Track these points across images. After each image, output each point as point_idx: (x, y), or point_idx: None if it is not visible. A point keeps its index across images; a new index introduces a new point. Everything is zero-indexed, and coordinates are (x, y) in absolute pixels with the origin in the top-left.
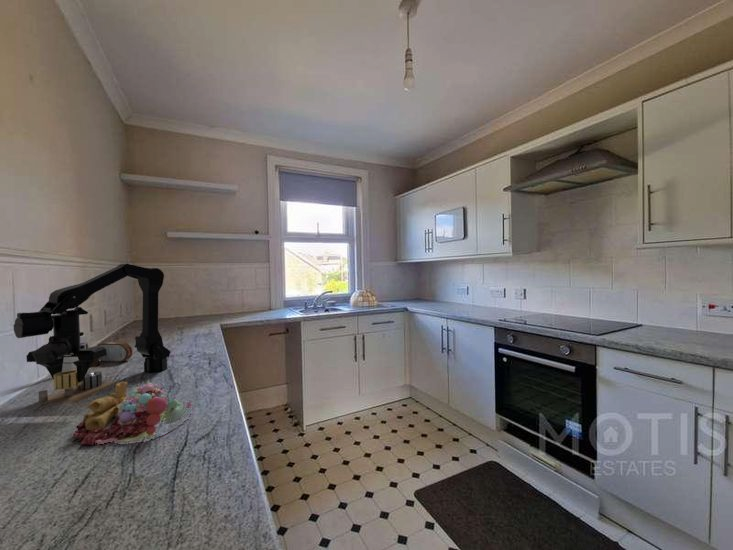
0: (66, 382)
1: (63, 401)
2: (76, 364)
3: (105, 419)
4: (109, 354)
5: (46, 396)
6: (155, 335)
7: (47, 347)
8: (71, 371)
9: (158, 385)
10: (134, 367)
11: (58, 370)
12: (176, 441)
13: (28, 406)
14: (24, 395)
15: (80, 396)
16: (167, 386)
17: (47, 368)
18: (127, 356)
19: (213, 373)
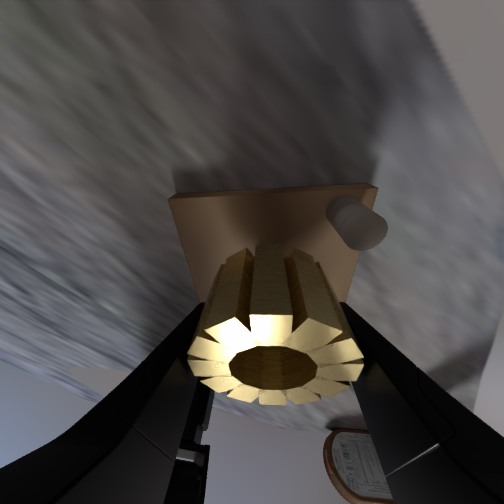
0: (227, 278)
1: (239, 207)
2: (43, 480)
3: None
4: (377, 457)
5: (334, 221)
6: None
7: None
8: (282, 383)
9: None
10: (281, 408)
11: (370, 397)
12: None
13: (400, 196)
14: (486, 293)
15: (216, 254)
16: (61, 323)
17: (483, 432)
18: (327, 445)
19: (50, 372)
